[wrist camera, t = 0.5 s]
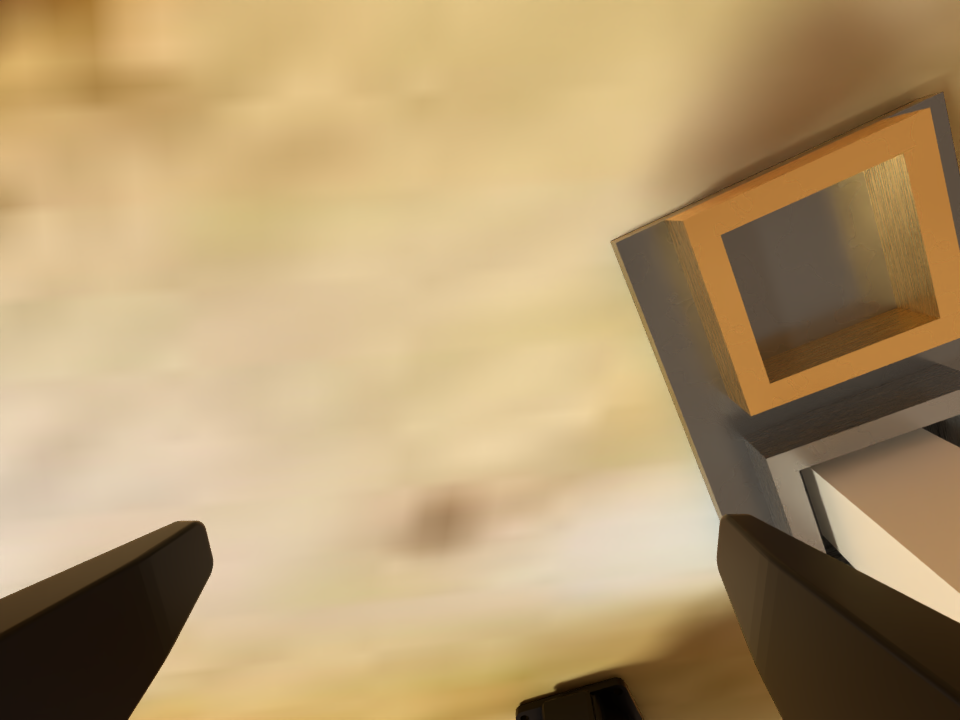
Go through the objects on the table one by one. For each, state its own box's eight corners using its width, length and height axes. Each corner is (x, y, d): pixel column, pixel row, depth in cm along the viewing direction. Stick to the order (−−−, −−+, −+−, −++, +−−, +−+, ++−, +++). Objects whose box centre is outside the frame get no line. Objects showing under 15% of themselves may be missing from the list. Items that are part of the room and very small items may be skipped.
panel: (1002, 491, 22) (1076, 533, 19) (741, 575, 24) (772, 624, 21) (919, 98, 18) (999, 75, 15) (610, 241, 20) (627, 246, 17)
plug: (924, 501, 21) (1166, 669, 13) (822, 534, 22) (995, 711, 14) (902, 417, 20) (1151, 546, 12) (795, 455, 21) (967, 599, 13)
